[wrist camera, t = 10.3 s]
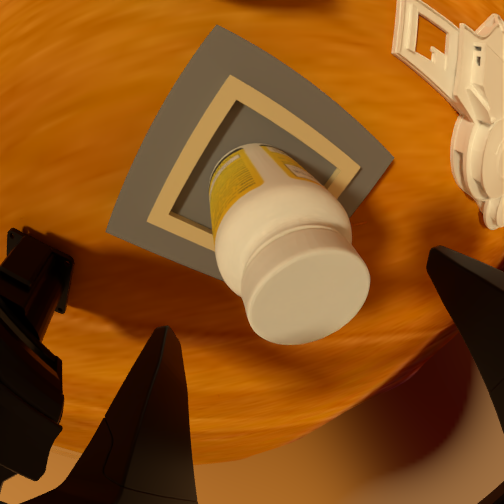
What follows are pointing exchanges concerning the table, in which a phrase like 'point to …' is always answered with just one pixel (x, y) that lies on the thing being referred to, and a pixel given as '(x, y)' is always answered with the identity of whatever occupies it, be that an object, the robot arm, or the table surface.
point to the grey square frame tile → (235, 146)
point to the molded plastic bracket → (465, 98)
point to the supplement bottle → (284, 246)
